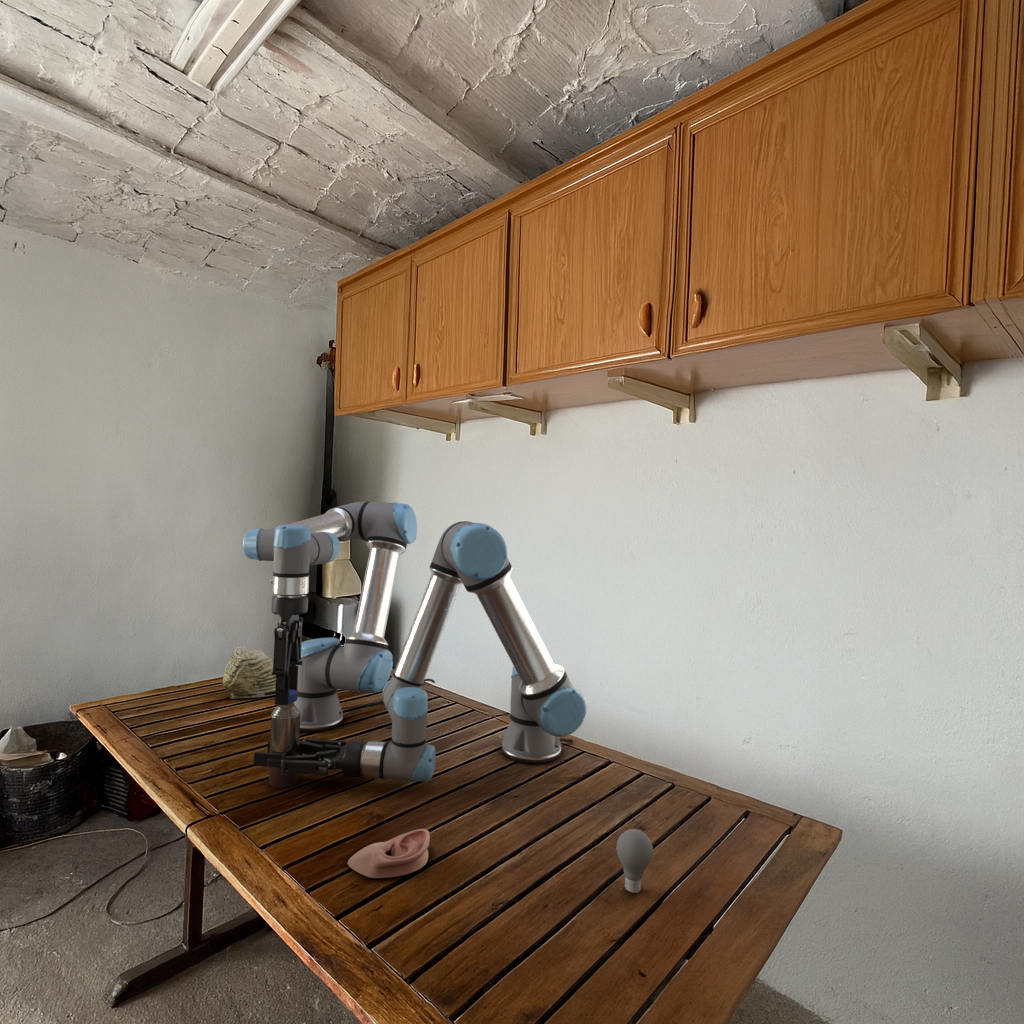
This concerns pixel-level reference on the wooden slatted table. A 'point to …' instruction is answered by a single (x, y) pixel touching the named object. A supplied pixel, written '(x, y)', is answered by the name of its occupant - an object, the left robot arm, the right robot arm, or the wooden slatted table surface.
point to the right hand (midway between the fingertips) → (261, 752)
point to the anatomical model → (393, 856)
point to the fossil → (249, 674)
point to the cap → (292, 696)
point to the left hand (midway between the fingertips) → (286, 699)
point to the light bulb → (634, 857)
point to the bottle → (284, 741)
